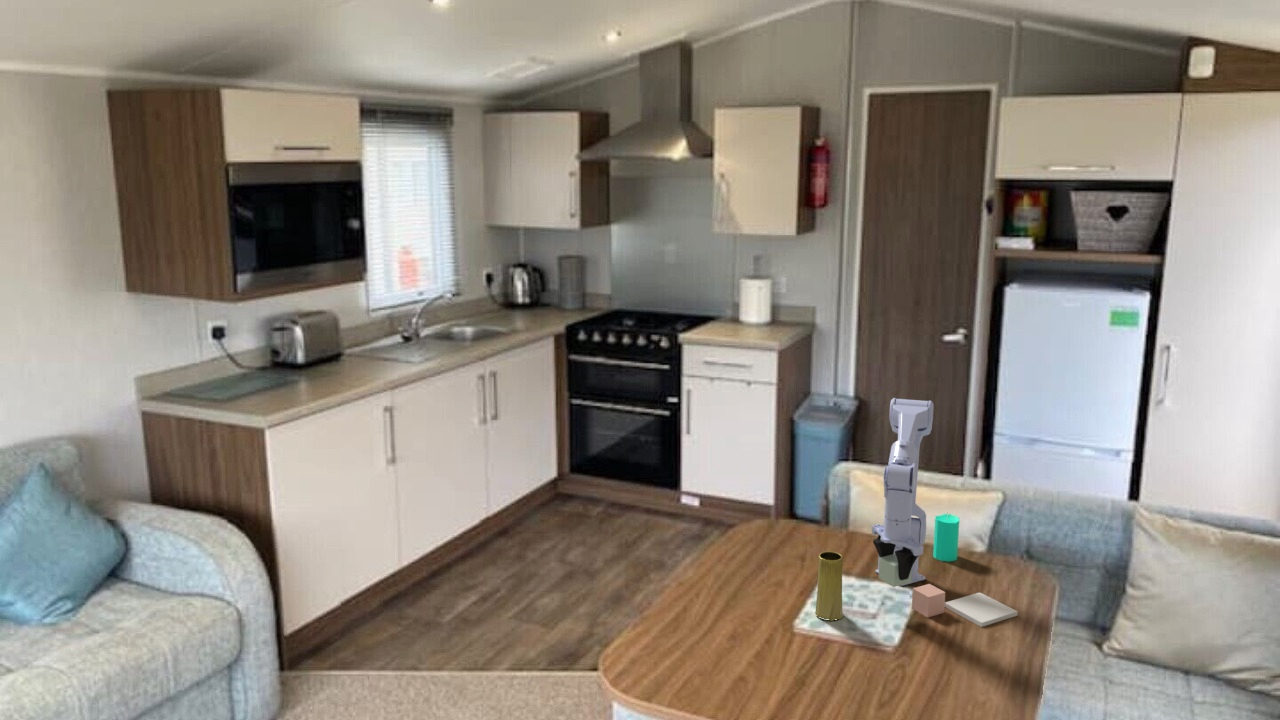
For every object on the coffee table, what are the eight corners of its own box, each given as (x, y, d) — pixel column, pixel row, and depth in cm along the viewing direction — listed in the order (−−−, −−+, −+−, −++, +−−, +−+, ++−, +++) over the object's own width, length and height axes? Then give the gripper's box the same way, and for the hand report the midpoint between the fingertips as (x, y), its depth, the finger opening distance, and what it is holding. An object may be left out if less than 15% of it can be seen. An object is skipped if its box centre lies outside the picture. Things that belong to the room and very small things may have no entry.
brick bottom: (878, 578, 216) (879, 557, 215) (895, 573, 219) (896, 553, 218) (893, 587, 212) (894, 565, 211) (911, 582, 214) (912, 561, 213)
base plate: (944, 606, 219) (944, 602, 219) (979, 596, 224) (979, 592, 224) (981, 627, 210) (981, 622, 210) (1017, 615, 215) (1017, 611, 215)
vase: (811, 618, 215) (813, 558, 212) (819, 606, 220) (821, 548, 217) (838, 623, 212) (840, 563, 209) (846, 612, 218) (848, 553, 215)
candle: (954, 552, 249) (957, 508, 247) (959, 561, 243) (962, 517, 241) (930, 551, 250) (933, 508, 247) (935, 561, 244) (937, 516, 241)
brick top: (911, 608, 219) (912, 588, 218) (928, 603, 221) (929, 583, 220) (927, 617, 215) (928, 597, 214) (944, 612, 217) (945, 592, 216)
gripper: (861, 509, 217) (859, 565, 220) (906, 531, 204) (903, 590, 207) (886, 504, 220) (883, 559, 223) (931, 525, 207) (928, 583, 210)
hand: (895, 574), depth 215 cm, fingers closed on brick bottom, 5 cm apart
